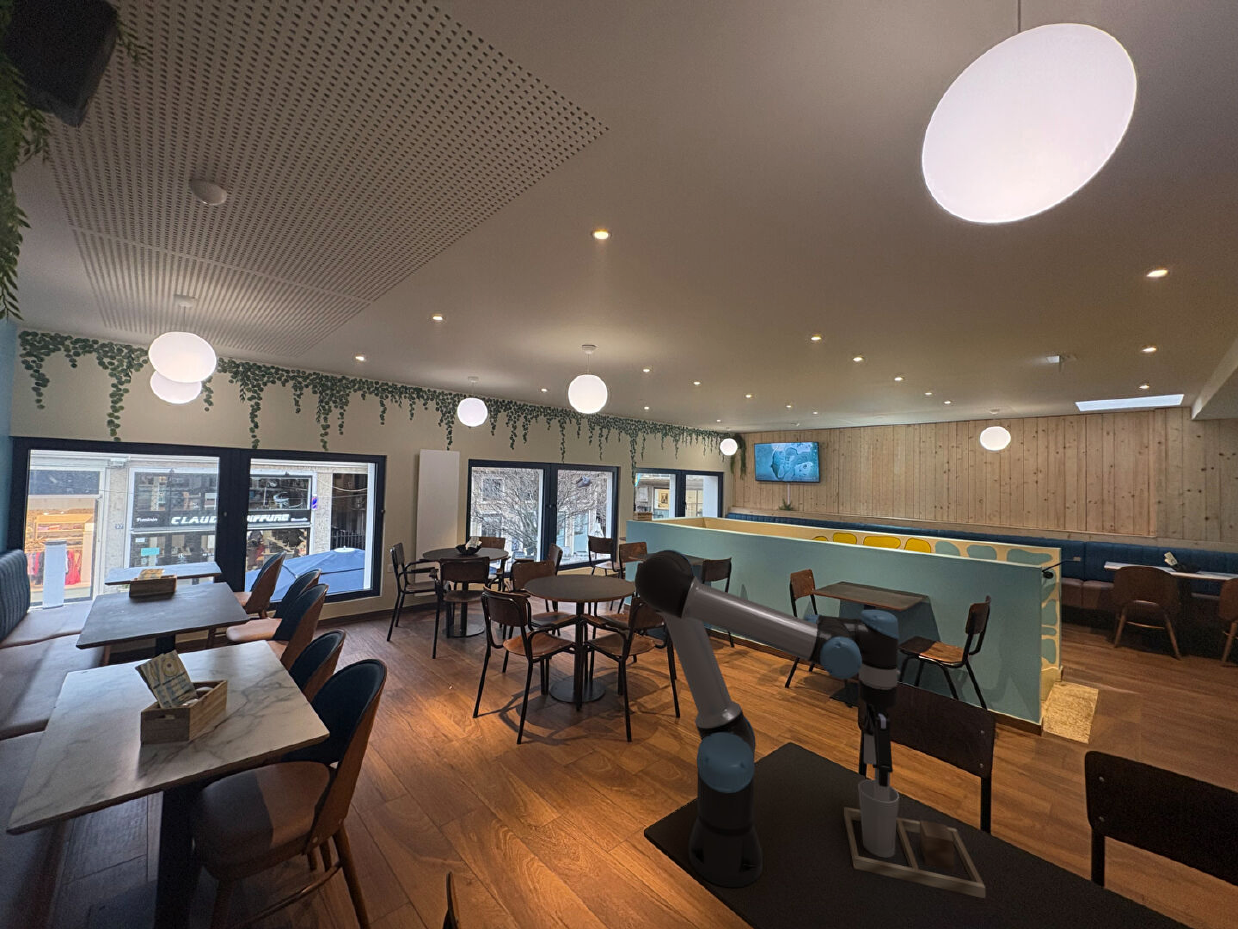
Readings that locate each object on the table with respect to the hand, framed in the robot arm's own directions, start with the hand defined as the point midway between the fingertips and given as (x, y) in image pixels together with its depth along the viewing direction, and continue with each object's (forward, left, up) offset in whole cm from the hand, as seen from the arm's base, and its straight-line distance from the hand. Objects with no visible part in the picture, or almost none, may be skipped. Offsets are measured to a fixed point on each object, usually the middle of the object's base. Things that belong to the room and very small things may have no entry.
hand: (875, 780), depth 109 cm
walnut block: (+11, 0, -14) cm, 18 cm away
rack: (+6, 0, -14) cm, 15 cm away
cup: (0, 0, -14) cm, 14 cm away
